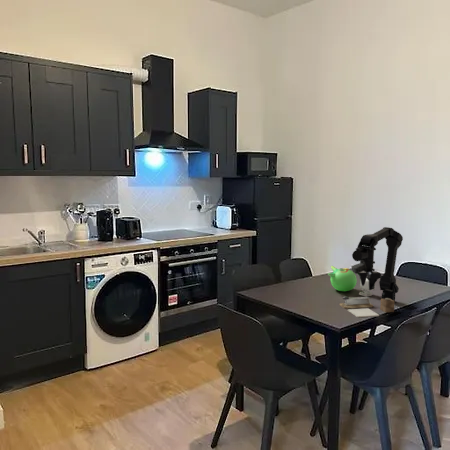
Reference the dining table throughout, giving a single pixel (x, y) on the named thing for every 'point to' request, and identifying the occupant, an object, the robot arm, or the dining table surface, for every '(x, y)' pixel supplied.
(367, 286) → the security camera
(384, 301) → the cap block
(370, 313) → the trivet
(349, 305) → the plane block
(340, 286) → the toy bird
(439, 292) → the dining table surface
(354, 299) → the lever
